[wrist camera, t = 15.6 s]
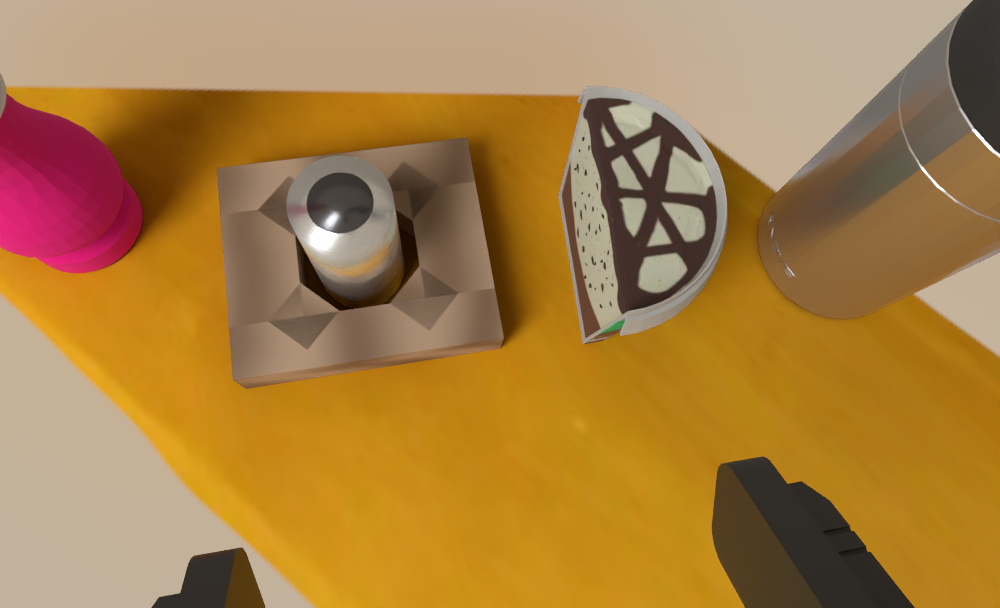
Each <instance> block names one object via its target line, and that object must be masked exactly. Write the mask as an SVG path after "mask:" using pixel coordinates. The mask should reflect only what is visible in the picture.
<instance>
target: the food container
mask: <svg viewBox="0 0 1000 608" xmlns="http://www.w3.org/2000/svg"><path fill="white" fill-rule="evenodd" d="M578 103H582V106H581V110H580V113H579V117H578V121H577V125H576V129H575V133H574V137H573V141H572V144H571V148H570V152H569V156H568V160H567V164H566V168H565V172H564V175H563V179H562V183H561V187H560V191H559V195H558V196H559V202H560V208H561V214H562V220H563V226H564V232H565V238H566V244H567V250H568V256H569V262H570V268H571V274H572V280H573V286H574V292H575V298H576V304H577V310H578V316H579V322H580V328H581V334H582V340H583V344H588V343H593V342H598V341H603V340H605V339H606V338H608V337H610V336H612V335H614V334H616V333H618V332H620V336H623V335H628V334H633V333H638V332H641V331H644V330H647V329H649V328H652V327H655V326H658V325H660V324H662V323H663V322H665V321H667V320H669V319H670V318H672V317H674V316H676V315H677V314H678V313H679V312H681V311H682V310H683V309H684V308H685V307H687V306H688V305H689V304H690V303H691V302H692V301H693V300H694V299H695V298H696V296H697V295H698V294H699V293H700V292H701V291H702V290H703V288H704V287H705V285H706V283H707V281H708V280H709V278H710V276H711V275H712V273H713V271H714V268H715V266H716V263H717V261H718V258H719V256H720V253H721V250H722V248H723V245H724V241H725V236H726V231H727V224H728V206H727V198H726V192H725V185H724V181H723V178H722V175H721V172H720V169H719V166H718V164H717V162H716V160H715V158H714V156H713V154H712V152H711V150H710V149H709V147H708V146H707V145H706V143H705V142H704V140H703V139H702V137H701V136H700V135H699V134H698V133H697V132H696V131H695V130H694V129H693V127H692V126H691V125H690V124H689V123H688V122H687V121H685V120H684V119H683V118H682V117H680V116H679V115H678V114H677V113H675V112H674V111H673V110H671V109H669V108H668V107H666V106H664V105H663V104H661V103H659V102H658V101H655V100H653V99H651V98H649V97H646V96H644V95H642V94H639V93H635V92H632V91H628V90H624V89H619V88H611V87H604V86H603V87H602V86H587V88H586V89H584V90H583V92H582V94H581V95H580V97H579V99H578Z"/></svg>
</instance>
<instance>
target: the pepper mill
mask: <svg viewBox="0 0 1000 608" xmlns="http://www.w3.org/2000/svg"><path fill="white" fill-rule="evenodd" d="M142 219H143V212H142V206H141V202H140V200H139V197H138V195H137V194H136V192H135V191H134V189H133V188H132V187H131V186H130V185H129V184H128V183H127V182H126V181H125V180H124V178H123V177H122V174H121V169H120V167H119V165H118V163H117V161H116V159H115V157H114V156H113V154H112V153H111V151H110V150H109V149H108V148H107V147H106V146H105V145H104V144H103V143H102V142H101V141H100V140H99V139H97V138H96V137H95V136H94V135H93V134H91V133H90V132H89V131H87V130H86V129H85V128H83V127H81V126H79V125H77V124H75V123H73V122H71V121H69V120H67V119H65V118H62V117H60V116H57V115H53V114H50V113H46V112H42V111H39V110H35V109H32V108H29V107H26V106H24V105H22V104H20V103H18V102H17V101H15V100H14V99H13V98H12V97H10V96H9V95H8V94H6V87H5V83H4V80H3V78H2V76H1V74H0V247H1V248H3V249H5V250H7V251H9V252H12V253H15V254H18V255H22V256H26V257H36V258H37V259H39V260H40V261H42V262H44V263H45V264H47V265H48V266H50V267H52V268H55V269H57V270H60V271H63V272H70V273H85V272H91V271H96V270H99V269H101V268H104V267H107V266H109V265H110V264H112V263H114V262H116V261H117V260H119V259H120V258H121V257H122V256H123V255H124V254H125V253H126V252H128V250H129V249H130V248H131V247H132V246H133V244H134V242H135V240H136V239H137V237H138V235H139V233H140V230H141V225H142Z"/></svg>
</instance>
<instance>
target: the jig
mask: <svg viewBox="0 0 1000 608" xmlns="http://www.w3.org/2000/svg"><path fill="white" fill-rule="evenodd" d="M339 155H344V156H353V157H357V158H360V159H363V160H365V161H368V162H369V163H371V164H373V165H374V166H375V167H377V168H378V169H379V170H380V171H381V172H382V173H383V174H384V176H385V177H386V178H387V180H388V182H389V184H390V187H391V189H392V193H393V198H394V204H395V210H396V216H397V222H398V227H400V228H401V229H403V230H404V231H405V232H407V233H408V234H410V235H411V236H413V237H415V243H416V249H417V255H418V262H419V267H418V269H417V270H416V271H415V272H414V274H413V275H412V276H411V277H410V279H409V280H408V281H407V283H406V284H405V285H404V286H403V288H402V289H401V290H400V291H399V293H398V294H397V295H396V296H395V298H394V299H393V300H392V301H391V303H390V304H384V305H377V306H370V307H364V308H357V309H350V310H343V311H339V310H337V309H336V308H335V307H333V306H332V305H330V304H329V303H328V302H326V301H325V300H323V299H322V298H321V297H319V296H318V295H316V294H315V293H314V292H312V291H311V290H309V289H308V287H307V278H306V269H305V259H304V252H305V250H304V248H303V246H302V245H301V243H300V241H299V239H298V237H297V235H296V233H295V232H294V230H293V228H292V226H291V224H290V222H289V219H288V215H287V208H286V202H287V196H288V192H289V189H290V187H291V184H292V183H293V181H294V179H295V178H296V177H297V176H298V174H299V173H300V172H301V171H302V170H303V169H305V168H306V167H307V166H308V165H310V164H312V163H313V162H315V161H318V160H320V159H323V158H326V157H330V156H339ZM217 177H218V190H219V203H220V216H221V229H222V242H223V255H224V269H225V282H226V295H227V308H228V321H229V334H230V347H231V360H232V373H233V381H235V382H237V383H238V384H240V385H241V386H243V387H244V388H246V389H247V388H254V387H260V386H266V385H273V384H279V383H285V382H292V381H298V380H304V379H311V378H317V377H323V376H329V375H336V374H342V373H348V372H355V371H361V370H367V369H374V368H380V367H386V366H393V365H399V364H405V363H411V362H418V361H424V360H430V359H437V358H443V357H449V356H456V355H462V354H468V353H475V352H481V351H487V350H494V349H500V348H501V345H502V342H503V339H504V335H503V330H502V324H501V319H500V314H499V308H498V303H497V297H496V292H495V286H494V281H493V276H492V270H491V265H490V259H489V254H488V248H487V243H486V238H485V232H484V227H483V221H482V216H481V210H480V205H479V200H478V194H477V189H476V183H475V178H474V172H473V167H472V162H471V156H470V151H469V145H468V140H467V138H460V139H452V140H444V141H436V142H427V143H419V144H411V145H403V146H395V147H387V148H378V149H370V150H362V151H354V152H346V153H337V154H329V155H321V156H313V157H305V158H296V159H288V160H280V161H272V162H264V163H255V164H247V165H239V166H231V167H223V168H217Z"/></svg>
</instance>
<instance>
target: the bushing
mask: <svg viewBox="0 0 1000 608" xmlns="http://www.w3.org/2000/svg"><path fill="white" fill-rule="evenodd" d="M286 208H287V215H288V219H289V222H290V224H291V226H292V228H293V230H294V232H295V233H296V235H297V237H298V239H299V241H300V243H301V245H302V246H303V248H304V250H305V252H306V254H307V256H308V258H309V260H310V261H311V263H312V265H313V267H314V269H315V271H316V273H317V274H318V276H319V278H320V280H321V282H322V284H323V286H324V288H325V289H326V291H327V292H328V294H329V295H330V296H331V297H332V298H333V299H335V300H336V301H337V302H339V303H340V304H343V305H345V306H348V307H351V308H364V307H370V306H377V305H380V304H382V303H384V302H386V301H387V300H389V299H390V298H391V297H392V296H393V295H394V294H395V293H396V292H397V290H398V289H399V287H400V285H401V283H402V281H403V278H404V272H405V265H404V258H403V252H402V246H401V240H400V234H399V228H398V222H397V216H396V210H395V204H394V198H393V193H392V189H391V187H390V184H389V182H388V180H387V178H386V177H385V176H384V174H383V173H382V172H381V171H380V170H379V169H378V168H377V167H375V166H374V165H373V164H371V163H369V162H368V161H365V160H363V159H360V158H357V157H353V156H344V155H339V156H330V157H326V158H323V159H320V160H318V161H315V162H313V163H312V164H310V165H308V166H307V167H306V168H305V169H303V170H302V171H301V172H300V173H299V174H298V176H297V177H296V178H295V179H294V181H293V183H292V184H291V187H290V189H289V192H288V196H287V202H286Z"/></svg>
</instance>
